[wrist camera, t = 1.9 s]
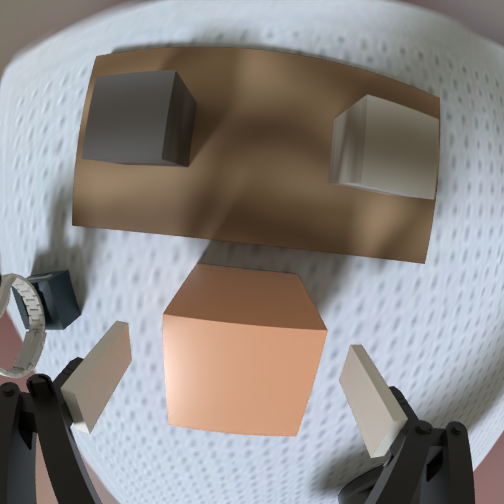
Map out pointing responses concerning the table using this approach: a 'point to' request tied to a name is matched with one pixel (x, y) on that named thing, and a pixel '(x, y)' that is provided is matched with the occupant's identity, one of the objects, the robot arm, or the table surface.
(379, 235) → the post board
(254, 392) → the peach cube
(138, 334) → the table surface
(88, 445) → the table surface
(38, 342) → the watch
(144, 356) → the table surface
